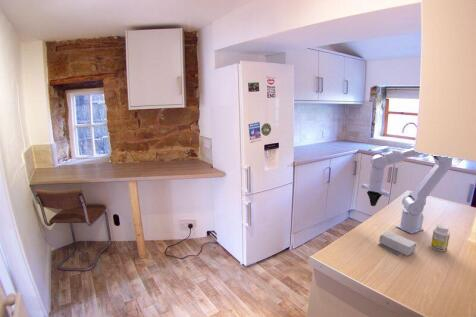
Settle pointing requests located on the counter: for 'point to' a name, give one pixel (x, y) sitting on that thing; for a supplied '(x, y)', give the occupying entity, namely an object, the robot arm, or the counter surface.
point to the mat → (390, 249)
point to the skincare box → (397, 243)
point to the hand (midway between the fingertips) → (373, 205)
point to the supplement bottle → (440, 238)
